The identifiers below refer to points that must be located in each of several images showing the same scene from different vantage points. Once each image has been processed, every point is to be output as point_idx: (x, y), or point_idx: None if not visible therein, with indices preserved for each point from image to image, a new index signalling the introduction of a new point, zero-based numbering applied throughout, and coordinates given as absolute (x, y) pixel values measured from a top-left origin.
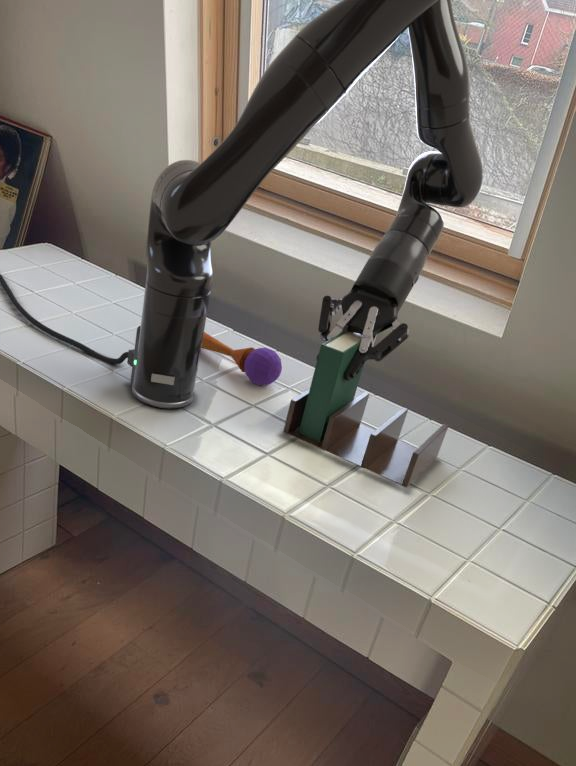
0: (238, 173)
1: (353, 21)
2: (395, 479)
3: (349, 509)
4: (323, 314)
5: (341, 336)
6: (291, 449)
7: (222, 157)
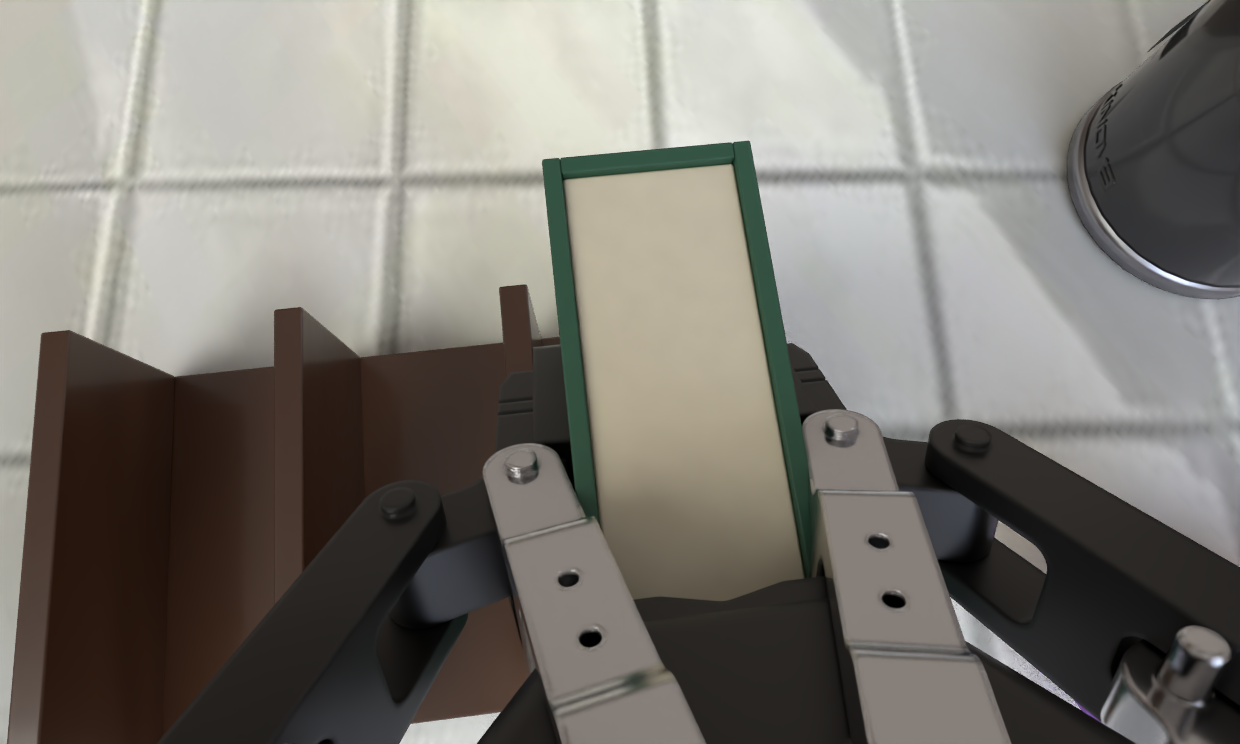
0: None
1: None
2: (209, 388)
3: (275, 125)
4: (1128, 528)
5: (774, 472)
6: None
7: None
